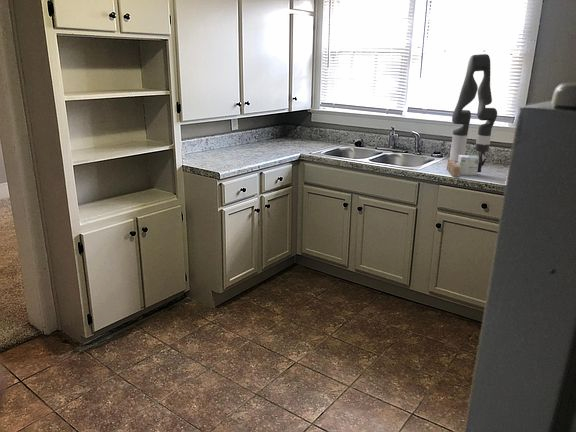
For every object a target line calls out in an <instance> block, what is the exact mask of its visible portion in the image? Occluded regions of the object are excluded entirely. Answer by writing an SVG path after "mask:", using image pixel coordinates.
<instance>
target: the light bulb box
mask: <svg viewBox="0 0 576 432" xmlns="http://www.w3.org/2000/svg"><path fill="white" fill-rule="evenodd" d="M478 164H479V157H477V156H476V155H473V154H472V155H469V154H467V155H466V154H465V155H459V157H458V162H457V165H458V166H459V167H460V169H459V176H460V175H462V176H478V172H477V171H478Z"/></svg>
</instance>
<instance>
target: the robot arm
mask: <svg viewBox="0 0 576 432" xmlns="http://www.w3.org/2000/svg"><path fill="white" fill-rule="evenodd" d="M476 72H483V76H482V80H481V82H480V83H479V86H478V83H477V81H476V79H475V77H474V74H475V73H476ZM476 95H477V98H478V107H477V114H476V117H477V118H478V120H479V121H485V123H483V124H480V125H478V130H477V136H476V141H475V148H474V150H475V151H476V152H477V154H476V155H475V156H477V157H479V164H478V171H477V173H481V172H482V168H483V166H484V165H485V162H486V161H487V159H486V152H487V153H488V152H489V151H490V146H491V145H490V144H491V140H492V139H491V136H492V129H493V127H494V124H495V121H496V120H497V116H498V110H497V109H496V108H495V107H486V106H488V105H490V104H492V102H493V98H492V91H491V58H490V55H489V54H486V53H484V54H483V53H482V54H480V53H479V54H472V55H471V56H470V57H469V60H468V63H467V69H466V72H465V77H464V80H463V83H462V86H461V89H460V93H459V96H458V101H457V103H456V106H455V108H454V111H453V113H452V116H451V121H452V123H453V124H454V125H462V126H461V127H458V128H455V129H453V130H452V137H451V143H450V144H451V145H450V153H449V159H448V160H453V161H454V162H455V163H458V157H459V155H466V154H465V153H466V149H467V141H468V133H469V128H470V122H471V117H472V115H471V114H472V113H471V110H469V109H468V110H467V109H464V108H466V107H467V106H468V105H469V104H470V103H471V102H473V101H474V100H475V99H476Z"/></svg>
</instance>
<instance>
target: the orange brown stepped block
mask: <svg viewBox="0 0 576 432" xmlns="http://www.w3.org/2000/svg"><path fill="white" fill-rule="evenodd" d="M459 169H460V167H459V166H458V163H457V162H456V161H453V160H449V159H447V165H446V171H448V173H449V175H450V176H451V177H452V178H459V176H460V175H459Z"/></svg>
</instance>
